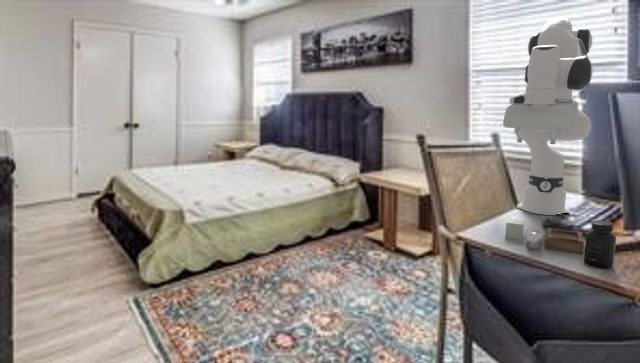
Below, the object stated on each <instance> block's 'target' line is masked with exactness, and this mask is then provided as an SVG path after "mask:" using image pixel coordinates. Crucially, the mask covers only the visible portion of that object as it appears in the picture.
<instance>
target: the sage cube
mask: <svg viewBox="0 0 640 363" xmlns="http://www.w3.org/2000/svg"><path fill="white" fill-rule="evenodd" d="M506 220H507V221H506V225H505V235H504V237H505V238H510V239H517V240H523V235H524V227H525V220H521V219H513V218H507V219H506Z"/></svg>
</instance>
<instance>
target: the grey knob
mask: <svg viewBox="0 0 640 363" xmlns="http://www.w3.org/2000/svg"><path fill="white" fill-rule="evenodd" d="M542 242H543V232H541V231H537V230H528V231H527V235H526V245H525V248H526V249H527V250H528V251H532V250H533V252H539V251H538V250H540V251H541V249H542Z"/></svg>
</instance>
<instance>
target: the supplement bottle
mask: <svg viewBox="0 0 640 363" xmlns="http://www.w3.org/2000/svg"><path fill="white" fill-rule="evenodd" d="M585 237H586V238H585V243H584V252H583V255H584V256H583V262H584V264H585V265H586V266H588V267H591V268H595V269H601V270H608V269H611V268H612V267H613V266H614V260H615V253H616V244H617V236H616V234H615V233H614V223H613V222H610V221H606V220H601V219H600V220H598V219H597V220H593V221H592V222H591V230H589V231H587V232H586V236H585Z"/></svg>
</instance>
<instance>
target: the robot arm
mask: <svg viewBox="0 0 640 363" xmlns="http://www.w3.org/2000/svg"><path fill="white" fill-rule="evenodd" d="M592 45H593V36H592V34H591V31H590V30H589V29H587V28H583V27H580V28H579V27H578V28H574V27H573V25H572V23H571V21H570V20H569V19H568V18H566V17H564V16H563V17H562V16H557V17H553V18H551V19H549V20H548V21H547V22H546V23H545V24H544V26H543V27H542V29H541V31H538V32H537V33H535V34H533V35H532V36H531V37H530V39H529V41H528V43H527V53H528V55H529V59H528V64H527V65H526V66H525V70H524V71H525V72H524V73H525V74H524V82H525V83H526V87H525V92H524V93H523V94H518V95H515V96H512V97H510V98H509V104H510V105H508V106H507V107H506V109H505V112H504V116H503V122H502V125H503V128H507V129H508V128H510V129H511V128H514V131H513V132H514V134H515V136H516V137H517V139H516V140H517V141H516V143H523V141H524V143H525V144H526V145H527V146H528V149H529V152H530V154H531V157H530V158H531V165H530V166H531V169H530V174H529V177H528V185H527V186H526V187H524V189H523V191H522V201H521V202H519V203H518V204H517V205H516V208H517V209H520V210H523V211H525V212H528V213H532V214H537V215H544V216H557V215H556V214H558V213H562V212H566V211H570V210H569V209H568V208H567V207H566V201H567V200H566V199H567V192H566V191H565V190H564V188H563V187H564V176H563V175H564V174H563V173H564V165H565V158H564V155H563V154H562V153H561V152H559V151H558V150H556V149H555V148H552V147H551V146H549V144H550V145H556V142H574V141H582V140H585V139H586V138H587V136H589V134H590V132H591V130H592V121H591V119H590V117H589V115H587V114H586V113H584V112H582V111H581V110H580V109H579V104H578V102H577V101H576V100H574V99H573V91H581V90H583V89H584V88H586V87H587V86H588V85H589V84H590V82H591V80H592V77H593V73H594V72H593V65H592V63H591V60H590V58H589V56H588V54H589V53H590V50H591V48H592ZM549 141H550V142H549ZM548 142H549V144H548Z"/></svg>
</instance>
